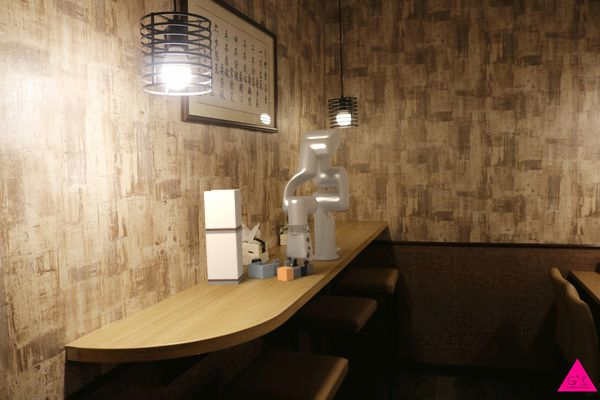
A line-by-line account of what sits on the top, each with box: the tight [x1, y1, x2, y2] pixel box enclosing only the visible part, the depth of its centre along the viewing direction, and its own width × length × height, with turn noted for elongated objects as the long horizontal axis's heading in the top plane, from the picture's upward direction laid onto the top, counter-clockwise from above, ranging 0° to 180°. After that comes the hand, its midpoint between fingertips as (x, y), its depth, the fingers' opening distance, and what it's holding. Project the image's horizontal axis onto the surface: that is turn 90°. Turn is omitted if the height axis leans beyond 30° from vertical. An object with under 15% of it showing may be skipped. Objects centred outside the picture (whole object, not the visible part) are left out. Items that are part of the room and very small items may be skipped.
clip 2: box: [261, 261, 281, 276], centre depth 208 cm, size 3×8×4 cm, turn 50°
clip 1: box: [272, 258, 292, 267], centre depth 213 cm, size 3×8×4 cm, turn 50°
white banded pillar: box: [203, 188, 245, 286], centre depth 196 cm, size 11×11×35 cm
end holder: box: [247, 262, 275, 280], centre depth 204 cm, size 6×8×5 cm
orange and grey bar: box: [277, 263, 314, 282], centre depth 201 cm, size 17×5×5 cm, turn 140°
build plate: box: [250, 257, 263, 264], centre depth 221 cm, size 12×7×5 cm, turn 159°
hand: (299, 274), depth 203 cm, fingers closed on orange and grey bar, 3 cm apart
